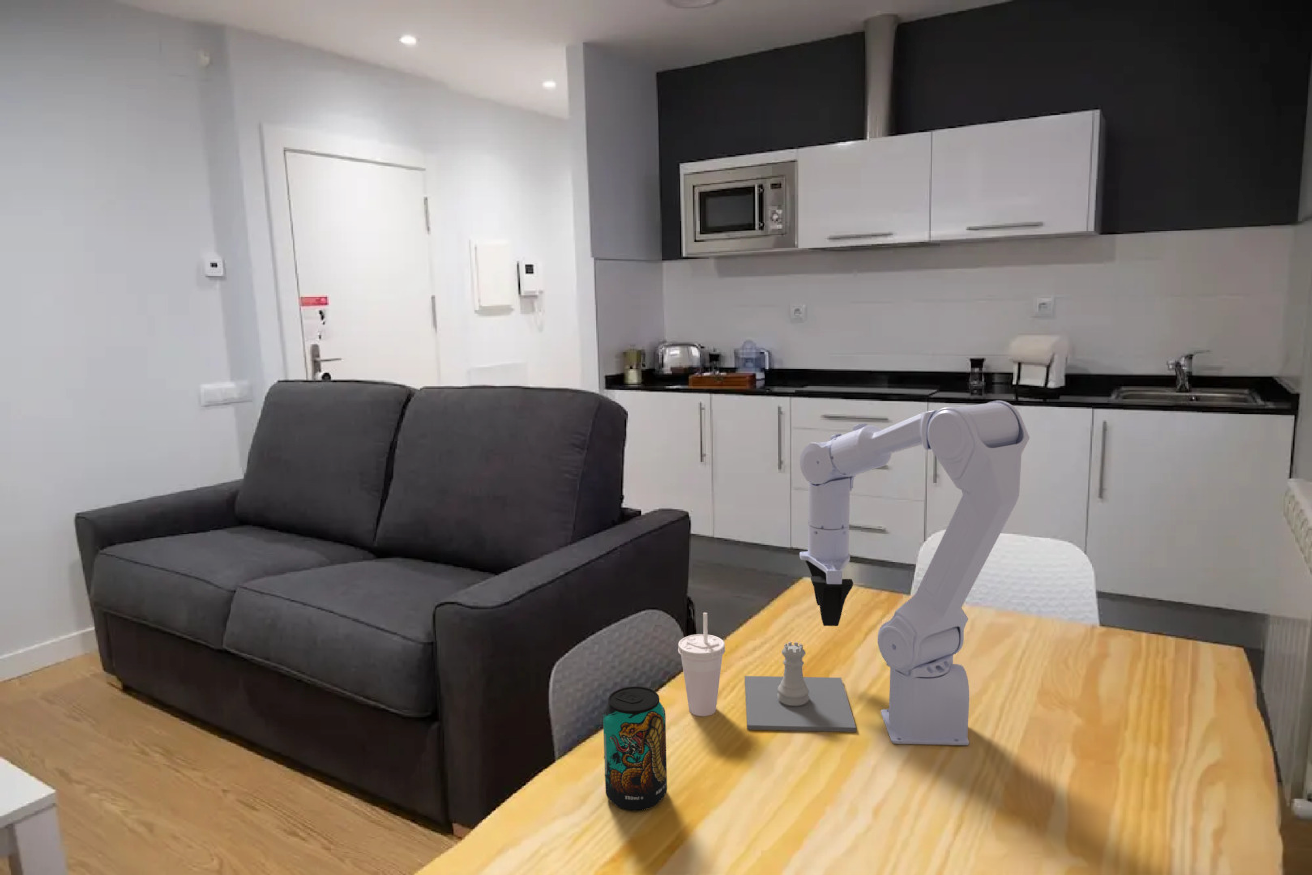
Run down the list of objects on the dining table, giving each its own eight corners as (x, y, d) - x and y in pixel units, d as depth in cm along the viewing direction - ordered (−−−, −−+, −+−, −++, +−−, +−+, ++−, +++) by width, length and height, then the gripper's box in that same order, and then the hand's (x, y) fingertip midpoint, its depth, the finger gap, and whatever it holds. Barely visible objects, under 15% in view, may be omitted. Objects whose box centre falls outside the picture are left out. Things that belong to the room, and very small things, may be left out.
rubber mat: (841, 681, 121) (841, 677, 121) (855, 731, 107) (855, 727, 107) (744, 679, 122) (744, 675, 122) (747, 729, 108) (747, 725, 108)
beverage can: (645, 822, 90) (642, 720, 88) (593, 802, 94) (589, 703, 91) (678, 788, 96) (676, 692, 94) (628, 771, 99) (625, 678, 97)
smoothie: (722, 723, 110) (721, 623, 108) (675, 719, 111) (673, 620, 109) (728, 699, 116) (727, 605, 114) (683, 696, 117) (681, 602, 115)
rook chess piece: (773, 693, 116) (773, 640, 115) (804, 691, 117) (804, 637, 116) (781, 709, 112) (781, 653, 111) (813, 706, 113) (814, 651, 111)
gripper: (795, 510, 125) (795, 595, 128) (805, 539, 111) (804, 634, 113) (843, 510, 125) (841, 596, 127) (858, 539, 110) (856, 635, 113)
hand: (827, 614), depth 120 cm, fingers open, 7 cm apart
